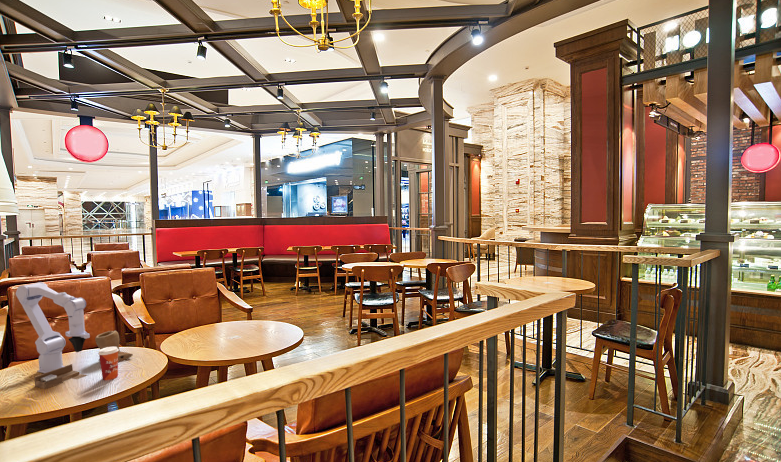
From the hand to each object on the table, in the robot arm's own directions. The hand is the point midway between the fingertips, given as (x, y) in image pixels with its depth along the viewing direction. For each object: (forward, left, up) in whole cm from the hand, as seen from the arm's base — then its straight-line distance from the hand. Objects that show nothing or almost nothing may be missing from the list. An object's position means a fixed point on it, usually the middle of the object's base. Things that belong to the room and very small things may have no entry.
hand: (78, 351), depth 187 cm
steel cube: (+4, -13, -8) cm, 15 cm away
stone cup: (+1, +15, -10) cm, 18 cm away
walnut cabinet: (+5, -10, -10) cm, 15 cm away
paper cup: (+23, -1, -10) cm, 25 cm away
